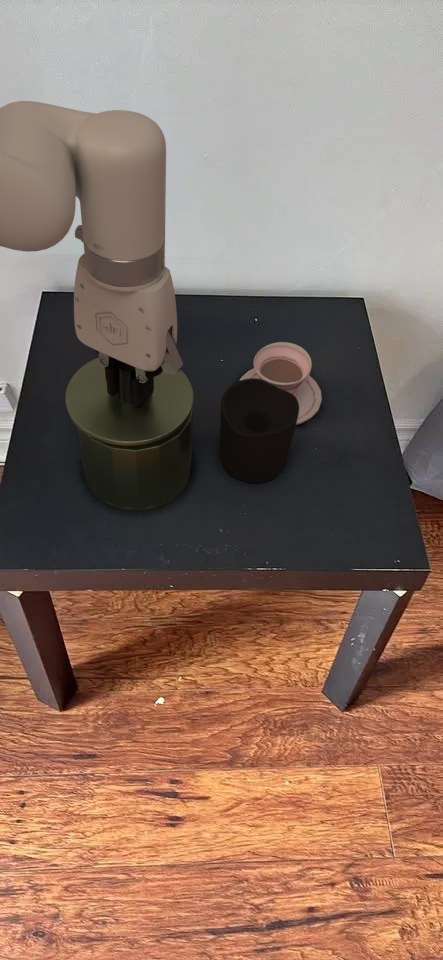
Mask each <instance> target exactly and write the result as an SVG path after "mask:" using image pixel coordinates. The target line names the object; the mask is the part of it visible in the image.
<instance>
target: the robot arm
mask: <svg viewBox="0 0 443 960" xmlns="http://www.w3.org/2000/svg"><path fill="white" fill-rule="evenodd" d="M166 196H167V142H166V138H165V135H164V132H163V130H162V128H161V126H159V124H158V123H157V122H156V121H154V120H153V119H152V118H150V117H148V116H147V115H145V114H142V113H139V112H136V111H131V110H124V109H118V110H117V109H114V110H104V111H100V112H98V113H95V112H89V111H83V110H78V109H73V108H68V107H63V106H59V105H55V104H50V103H45V102H40V101H33V100H19V101H18V100H17V101H13V102H9V103H7V104H5V105H3V106H1V107H0V247H3V248H6V249H9V250H13V251H20V252H27V253H30V252H41V251H44V250H48V249H50V248H52V247H54V246H56V245H57V244H59V243H60V242H61V241H63V240H64V238H65V237H66V236H67V234H69V232H70V230H71V227H72V225H73V222H74V219H75V215H76V205H77V204H76V203H77V199H78V201H79V206H80V220H81V224H79V225H78V226H76V228H75V230H74V237H75V239H77V240H80V241H81V243H83V250H84V251H83V253H82V255H80V257H79V258H78V261H77V266H76V271H75V278H74V279H75V280H74V288H73V319H74V320H73V321H74V331H75V335H76V337H77V339H78V340H79V341H80V342H81V343H82V344H83V345H85V346H87V347H89V348H91V349H93V350H94V351H95V353H97V355H98V358H99V362H100V363H101V365H103V366H105V378H106V381H107V393H108V394H110V395H115V394H116V392H117V391H118V377H117V361H118V360H120V361H122V362H124V363H127V364H129V365H131V366H134V367H135V370H136V376H135V377H134V378H133V380H132V403H133V405H134V406H137V407H139V406H140V405H141V404H142V402H143V401H144V400H145V399H149V398H150V397H151V395H152V394H153V391H154V377H155V376H158V375H160V374H161V373H164V374H177V373H178V372H179V371H180V370H181V369H183V368H184V362H183V361H182V358H181V356H180V353H179V351H178V348H177V343H178V312H177V301H176V300H177V299H176V293H175V288H174V283H173V278H172V274H171V271H170V269H169V268H168V267H167V266H166V205H167V202H166V201H167V200H166V199H167V197H166ZM181 371H182V370H181Z"/></svg>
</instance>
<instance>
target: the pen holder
mask: <svg viewBox="0 0 443 960" xmlns="http://www.w3.org/2000/svg"><path fill="white" fill-rule="evenodd" d="M298 415H299V403H298V400H297V398H296V397H295V396H294V395H293V394H291V393H290V392H287V391H285V390H282V389H280V388H278V387H276V386H274V385H272V384H270V383H268V382H266V381H264V380H261V379H256V378H250V379H244V380H241V381H240V380H238V381H236V382H234V383H233V384H231V385H230V386H229V387H227V389H226V390H225V391H224V392H223V394H222V397H221V400H220V425H219V427H220V428H219V430H220V431H219V457H220V461H221V464H222V467H223V468H224V469H225V471H226V472H227V473H228V474H229V475H230V476H232V477H234V478H235V479H237V480H239V481H242V482H246V483H252V484H258V483H259V484H261V483H265V482H269V481H271V480H273V479H275V478H277V477H278V476H279V475H281V473H282V472H283V470H284V469H285V467H286V465H287V461H288V457H289V454H290V450H291V446H292V442H293V439H294V434H295V431H296V426H297V425H296V423H297V419H298Z"/></svg>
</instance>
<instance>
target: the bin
mask: <svg viewBox="0 0 443 960" xmlns="http://www.w3.org/2000/svg"><path fill="white" fill-rule="evenodd" d="M193 422H194V405H193V406H192V410H191V413H190V415H189V417H188V418H187V420H186V421H185V423H184V424H183V425H182V426H181V427H180V428H179V429H178V430H177V431H175V432H174V433H172V434H171V435H169V436H168V437H165V438H163V439H161V440H158V441H156V442H153V443H148V444H143V445H134V446H124V445H115V444H110V443H106V442H103V441H100V440H97V439H95V438H93V437H91V436H89V435H88V434H86V433H85V432H83V431H82V430H81V429H80V428H79V427H78V426H77V425H76V428H77V434H78V442H79V449H80V456H81V463H82V468H83V473H84V477H85V482H86V484H87V486H88V488H89V490H90V491H91V492H92V495H94V496H95V497H96V498H97V499H99V500H100V501H101V502H103V503H105V504H106V505H108V506H110V507H112V508H115V509H119V510H122V511H130V512H141V511H150V510H153V509H157V508H160V507H162V506H164V505H167V504H168V503H170V502H171V501H173V500H175V499H176V498H177V497H178V496H179V495H180V494H181V493H182V492H183V491H184V490H185V488H186V486H187V484H188V482H189V480H190V475H191V467H192V455H193V454H192V453H193V450H192V449H193V425H194V423H193Z"/></svg>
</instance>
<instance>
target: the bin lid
mask: <svg viewBox="0 0 443 960" xmlns="http://www.w3.org/2000/svg"><path fill="white" fill-rule="evenodd" d="M135 376H136V370H135V367H134V366H131V365H129V364H127V363H124V362H122V361H120V360H118V361H117V377H118V391H117V392H116V394H115V395H110V394H108V393H107V381H106V378H105V366H103V365H101V363H100V362H99V357H96V358H94V359H92V360H90V361H88V362H87V363H85V364H84V365H82V366H81V367H80V368H79V369H77V370H76V372H75V373H74V374H73V375H72V377H71V378H70V381H68V384H67V387H66V391H65V405H66V410H67V413H68V415H69V417H70V419H71V421H72V422H73V423H74V425H75V426H76V427H77V426H78V427H79V428H80V429H81V430H82V431H83V432H85V433H86V434H88V435H89V436H91V437H93V438H95V439H97V440H100V441H103V442H106V443H110V444H115V445H124V446H134V445H143V444H148V443H153V442H156V441H158V440H161V439H163V438H165V437H168V436H169V435H171V434H172V433H174V432H175V431H177V430H178V429H179V428H180V427H181V426H182V425H183V424H184V423H185V421H186V420H187V418H188V417H189V415H190V413H191V410H192V406H193V407H194V390H193V386H192V384H191V381H190V380H189V378H188V376H187V375H186V374H185V372H183V371H182V370H180V371H179V372H178V373H177V374H164V373H161V374H160V375H158V376H155V377H154V391H153V394H152V395H151V397H150V398H149V399H145V400H144V401H143V402H142V404H141V405H140V406H139V407H137V406H134V405H133V403H132V380H133V378H134V377H135Z"/></svg>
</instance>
